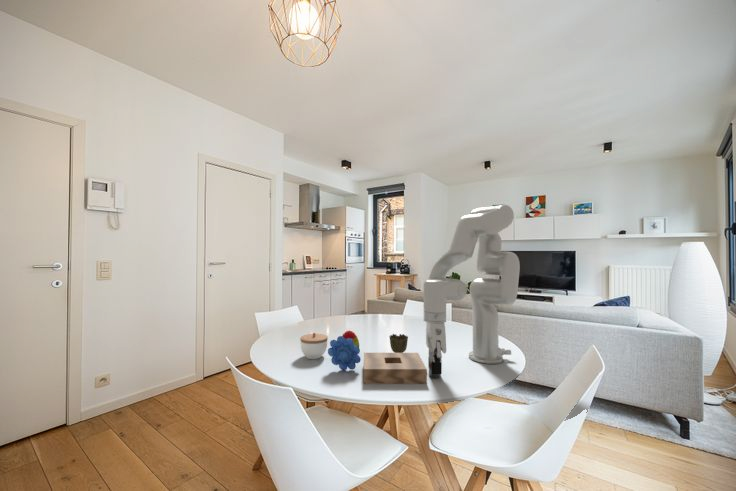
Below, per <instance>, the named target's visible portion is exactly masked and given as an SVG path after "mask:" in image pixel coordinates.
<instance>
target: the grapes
mask: <svg viewBox="0 0 736 491" xmlns="http://www.w3.org/2000/svg"><path fill="white" fill-rule="evenodd" d="M353 345H354V341H353V340H352V339H350V338H348V339H346V341H345V338H344V337H343V336H341V335H339V336H337V338H336V339H331V340H330V342H329V346H330V347H329V348H328V350H327V354H328V355H329V357H331V360H330V361H331V363H332V364H333V365H334V366H338V367H339V369H340V370H341V371H346V370H347V369H349V370H355V368H356V367H357V366H356V364H359V363H360V362H361V356H360V355H359V354H360V351H361V350H360V346H359V347H358V346H355V345H354V346H353Z"/></svg>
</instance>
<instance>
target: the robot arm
mask: <svg viewBox="0 0 736 491" xmlns="http://www.w3.org/2000/svg"><path fill="white" fill-rule="evenodd" d="M514 216H515V213H514V210H513V209H512V207H511V206H510V205H507V204H499V205H490V206H484V207H483V206H482V207H477V208H475V209H472V211H471V212H470V214H466V215H463V216H462V217H460V218H459V219H458V222H457V225H456V227H455V231H454V234H453V237H452V239H451V244H450V246H449V249H448V250H447V251H446V252H445V253H444V254H443V255H442V256H441V257H440V258H439V259H438V260H437V262H435V263H434V265H433V267H432V269H431V271H430V274H429V278H428V279H426V280H425V281H424V282H423V322H425V323H426V324H425V325H426V326H425V344H426V347H427V348H428V352H429V351H431V352H432V374H441V375H442V372H443V371H442V369H443V368H442V366H443V365H442V361H443V360H442V357H443V356H442V353H443V354H446V353H447V336H446V333H447V332H446V326H445V323H447V301H454V302H458V301H461V300H462V299H464V298H465V297H466V295H467V294H468V288H467V287H468V286H467V285H466V283H465V282H464V281H463V280H461V279H457V278H449V277H448V278H447V277H446V276H447V274H448V272H450V270H452V269H453V268H454V267H456V266H459V265H461V264H463V263H465V262H466V261H468V260H470V259H471V258H473V255H474V252H475V248H476V245H477V242H478V250H477V251H478V252H477V258H476V259H477V260H476V268H477V269H476V270H477V271H478V272H479V274H482V275H485V276H498V277H500V279H497V278H490V277H488V278H487V277H478V278H475V279H473V280H472V281H471V283H470V285H469V295H470V298H471V299H470V300H471V306H472V308H471V309H472V351H469V353H468V358H469V359H470V360H472V361H474V362H478V363H481V364H488V365H489V364H490V365H495V364H501V363H502V362H503V361H504V357H503V356H504V355H506V356H511V355H512V350H511V349H505V348H500V347H499V312H498V310H497V307H496V306H495V305H501V306H511V305H513V304H515V302H516V300H517V297H518V293H519V292H518V291H519V279H520V270H521V268H520V267H521V266H520V265H521V264H520V259H519V256H518V255H517V253H514V252H513V251H504V250H503V251H502V238H501V235H500V234H499V233H500V232H502V231H503V230H505V229H506V228H508V227H509V226H511V224H512V223H513V221H514ZM434 350H436V351H437V352H434ZM435 354H437V356H435ZM427 358H428V368H429V356H428V357H427Z"/></svg>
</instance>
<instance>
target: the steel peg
mask: <svg viewBox="0 0 736 491" xmlns="http://www.w3.org/2000/svg"><path fill="white" fill-rule="evenodd" d="M434 352H437V351H436V350H434ZM435 356H437V354H435ZM428 357H429V367H428V376H429V377H430V378H432V379H441V378H442V373H441V374H432V352H431V351H429V350H428Z"/></svg>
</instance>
